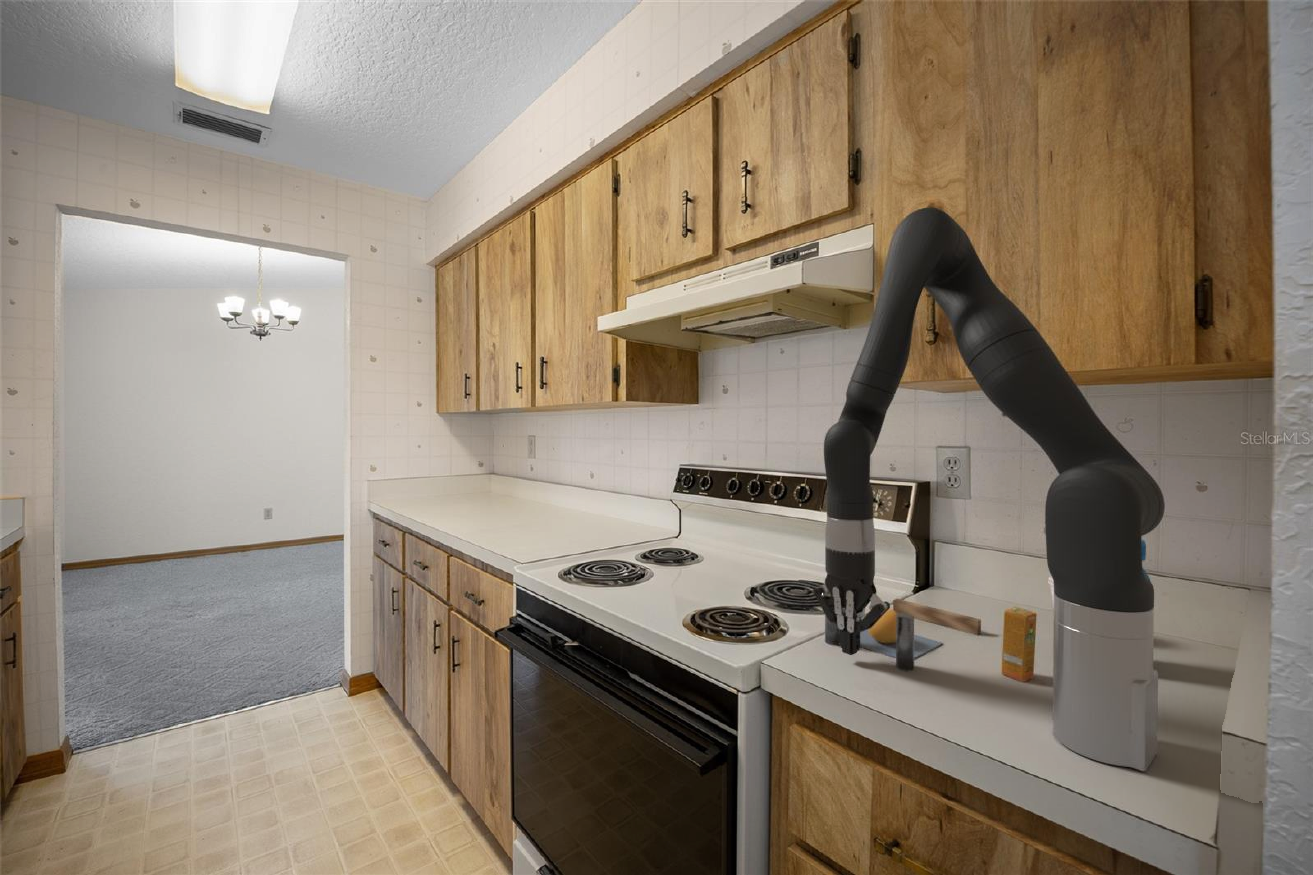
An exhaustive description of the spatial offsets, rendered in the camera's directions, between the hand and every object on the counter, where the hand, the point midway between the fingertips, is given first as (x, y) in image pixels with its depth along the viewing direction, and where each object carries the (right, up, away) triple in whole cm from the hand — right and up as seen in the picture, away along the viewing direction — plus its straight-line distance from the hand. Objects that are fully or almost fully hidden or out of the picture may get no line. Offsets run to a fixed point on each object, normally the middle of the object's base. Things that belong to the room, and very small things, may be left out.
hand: (849, 652), depth 90 cm
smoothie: (+44, -1, +12) cm, 46 cm away
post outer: (0, -1, +8) cm, 8 cm away
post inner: (+8, -2, -2) cm, 8 cm away
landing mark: (+10, -1, +8) cm, 13 cm away
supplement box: (+24, -2, -6) cm, 24 cm away
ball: (+9, +2, +8) cm, 12 cm away
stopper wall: (+22, -1, +18) cm, 29 cm away
